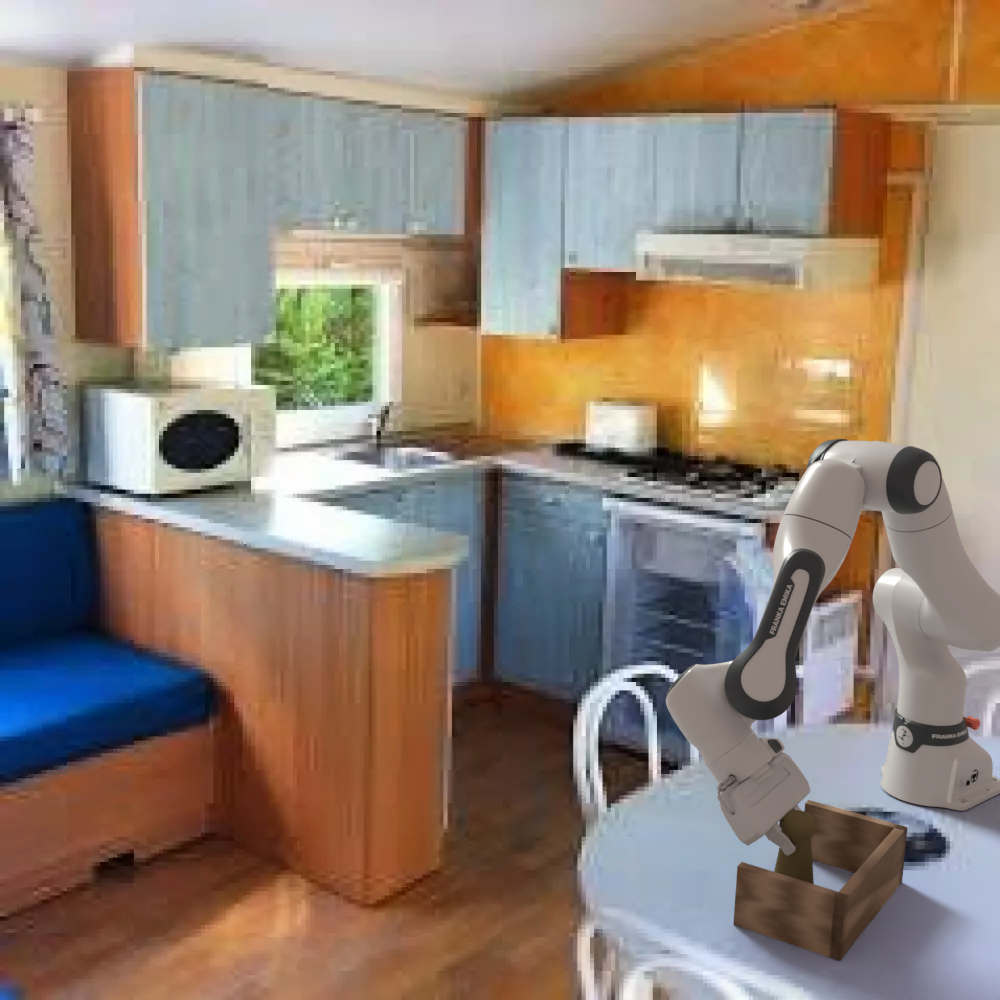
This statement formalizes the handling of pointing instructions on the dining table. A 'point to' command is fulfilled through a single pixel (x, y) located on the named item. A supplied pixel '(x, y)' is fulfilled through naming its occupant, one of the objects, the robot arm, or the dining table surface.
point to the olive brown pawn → (800, 860)
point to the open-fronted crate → (817, 910)
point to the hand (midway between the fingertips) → (800, 845)
